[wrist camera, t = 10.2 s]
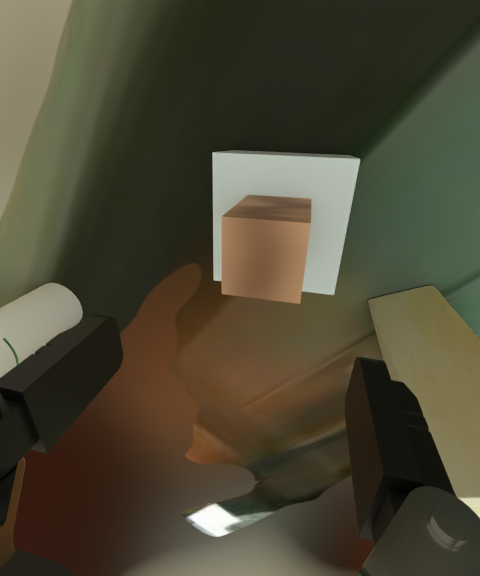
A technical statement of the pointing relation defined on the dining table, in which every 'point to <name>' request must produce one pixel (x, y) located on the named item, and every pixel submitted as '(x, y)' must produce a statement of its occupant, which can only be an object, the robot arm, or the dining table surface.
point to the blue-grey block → (298, 184)
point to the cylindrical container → (35, 322)
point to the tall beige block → (437, 376)
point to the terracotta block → (266, 247)
